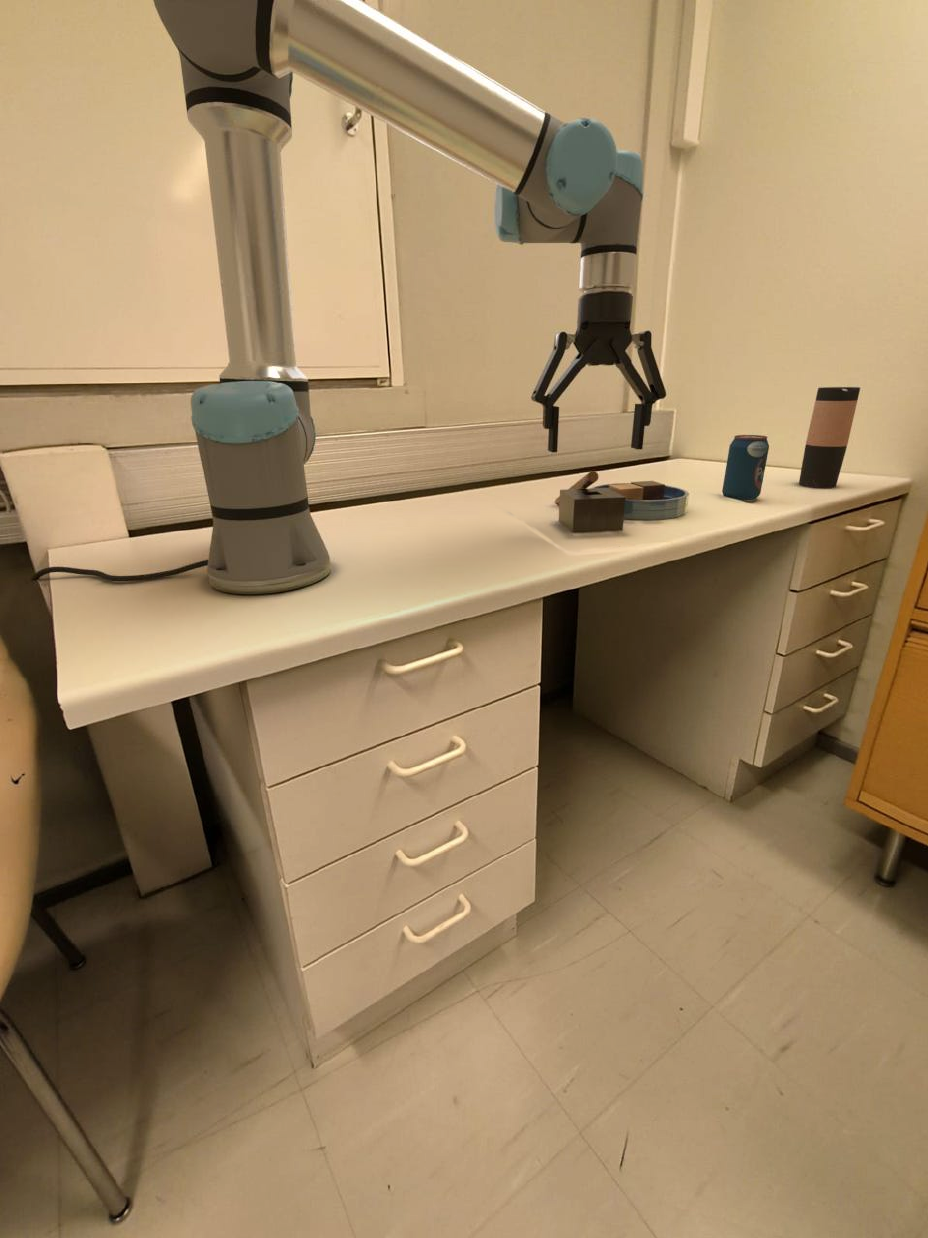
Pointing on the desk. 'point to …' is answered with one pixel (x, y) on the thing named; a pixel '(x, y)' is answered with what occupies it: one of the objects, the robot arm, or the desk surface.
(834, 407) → the travel mug
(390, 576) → the desk surface
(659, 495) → the walnut block
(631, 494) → the pine block
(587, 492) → the stand
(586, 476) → the stirring stick
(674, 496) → the bowl
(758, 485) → the soda can
